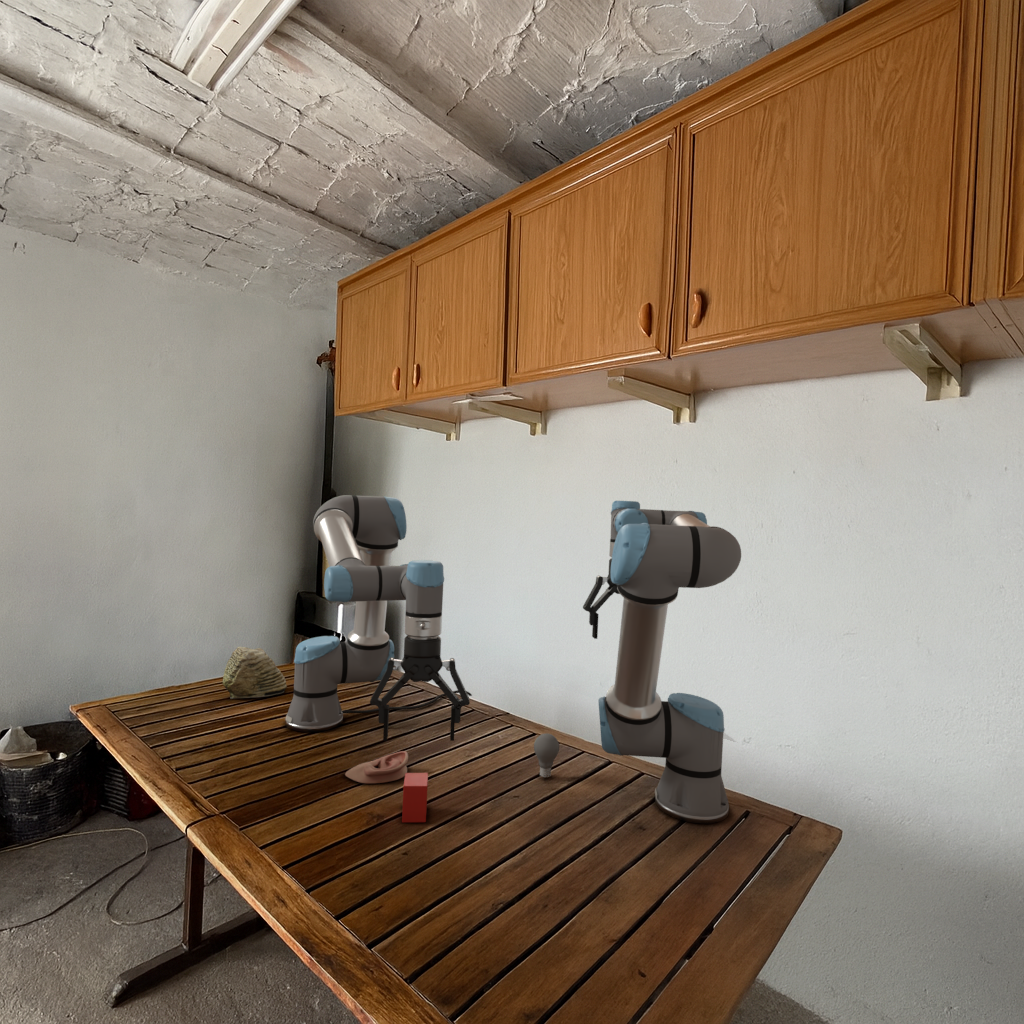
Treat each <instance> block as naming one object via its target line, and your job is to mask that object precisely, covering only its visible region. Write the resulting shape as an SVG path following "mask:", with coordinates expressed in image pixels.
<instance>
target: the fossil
mask: <svg viewBox="0 0 1024 1024" xmlns="http://www.w3.org/2000/svg"><path fill="white" fill-rule="evenodd" d="M222 676H223V677H222V685H223V687H224V688H225V690H226V691H228V693H229V698H230V699H250V698H264V697H271V696H275V695H281V694H284V693H285V691H286V689H287V687H288V686H287V680H286V678H285V676H284V674H283V673H282V672H281V669H279V668H278V667H277V665H276V663H275V662H274V660H273V659H272V658H271V657H270V656H269V655H268V654H267V653H266V652H265V650H264V649H263V648H260V647H258V648H251V647H247V646H246V647H245V646H238V647H237V648H236V649H235V650H233V651H232V653H231V656H230V657H229V659H228V660H227V663H226V666H225V668H224V671H223V675H222Z"/></svg>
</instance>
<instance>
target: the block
mask: <svg viewBox="0 0 1024 1024" xmlns="http://www.w3.org/2000/svg"><path fill="white" fill-rule="evenodd" d="M403 780H404V781H403V786H402V789H403V790H402V812H401V813H402V816H401V823H426V822H427V809H428V808H427V807H428V788H429V786H428V784H429V772H407V773H405V776H404V779H403Z"/></svg>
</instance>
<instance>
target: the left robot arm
mask: <svg viewBox="0 0 1024 1024" xmlns="http://www.w3.org/2000/svg"><path fill="white" fill-rule="evenodd" d="M312 527H313V532H314V534H315V537H316V538H317V540H318V541H320V542H321V544H322V547H323V551H324V554H325V557H326V561H327V564H328V567H327V568H326V569H325V572H324V578H323V579H324V581H323V589H324V596H325V599H326V600H327V601H329V602H335V603H336V602H337V603H339V602H340V603H349V602H350V603H351V602H355V609H354V622H353V629H352V630H350V631H349V632H348V633H347V640H346V641H341V640H340V638H339V637H338V636H335V635H321V636H315V637H311V638H308V639H305V640H303V641H301V642H299V643H298V644H297V645H296V648H295V654H294V660H293V663H294V674H293V675H294V679H293V695H292V696H293V697H292V699H291V702H290V704H289V708H288V711H287V713H286V715H285V726H286V728H287V729H289V730H291V731H294V732H295V731H296V732H301V733H316V732H325V731H329V730H332V729H335V728H337V727H339V726H340V725H342V723H343V722H344V714H370V713H377V712H378V717H377V718H378V720H377V721H378V723H379V724H383V735H382V741H383V742H387V741H388V737H389V723H390V721H389V719H390V711H392V710H393V711H395V710H397V711H398V710H399V711H400V710H402V711H404V710H405V711H406V710H407V711H408V710H416V709H420V708H424V707H426V706H429V705H431V704H433V703H435V702H437V701H438V700H440V698H443V697H446V698H447V699H448V701H450V702H451V706H450V729H449V740H450V742H453V741H454V742H455V726H456V725H455V724H460V723H461V711H462V707H465V706H469V705H470V702H471V700H470V697H472V696H473V694H472V693H471V692H469V691H467V690H466V688H465V686H464V684H463V682H462V679H461V677H460V675H459V673H458V671H457V668H456V659H455V658H453V657H450V658H449V659H443V660H442V658H441V655H442V653H441V652H442V638H441V636H440V635H441V634H442V628H443V600H444V599H443V598H444V583H445V575H444V565H443V563H442V562H441V561H438V560H432V559H416V560H410V561H409V562H408V563H405V564H400V565H391V563H392V553H393V551H395V550H397V548H398V547H399V541H402V540H404V539H405V538H406V535H407V530H408V529H407V527H408V525H407V516H406V510H405V507H404V504H403V502H402V501H401V499H399V498H397V497H392V496H385V495H352V494H343V495H339V496H335V497H332V498H331V499H328V500H327V501H326V502H324V503H323V504H322V505H321V506H319V508H318V509H317V511H316V512H315V514H314V517H313V521H312ZM388 601H405V615H404V635H406V636H405V637H404V638H403V639H404V640H403V657H402V659H397V658H396V659H395V645H394V644H395V643H394V642H393V640H392V639H390V635H389V634H388V632H386V631H385V628H386V618H387V608H388ZM399 667H401V669H402V670H403V671H404V673H403V674H402V675H401V677H400V678H399V679H398V680H397V681H396V682H395V683H394V684H393V685H392V687H391V688H390V689H389V690H387V692H386V693H385V694H384V695H383V697H381V698H380V696H381V695H382V693H383V691H384V689H385V688H386V685H387V684H388V682H389V680H390V678H391V677H392V674H393V671H397V669H398V668H399ZM443 667H444V668H445V670H446V671H447V672H449V673H450V677H451V678H452V680H453V683H454V685H455V688H456V690H453V689H452V688H451V687H450V686H449V684H447V682H446V681H445V680H444V679H443V676H441V674H440V673H439V672H440V671H441V669H442V668H443ZM409 681H411V682H414V683H417V682H418V683H419V682H424V683H429V682H431V681H433V682H434V683H435V684H436V685H437V686H438V688H439V689H440V690H441V692H442V694H439V695H437V696H436V697H435V698H434V699H431V700H430V701H427V702H424V703H422V704H418V705H411V706H390V704H388V703H389V702H390V701H391V700H392V699H393V698H394V697H395V696H396V695H397V693H399V691H401V689H402V688H403V687H404V686H405V685H407V683H408V682H409ZM374 682H378V685H377V687H376V688H375V690H374V692H373V693H372V696H371V697H370V700H369V704H370V705H371V706H376V707H377V708H373V709H362V710H361V709H359V710H357V709H356V710H355V709H354V710H353V709H350V710H349V709H348V710H347V709H346V710H343V709H342V706H341V702H340V699H339V695H338V685H345V684H356V683H359V684H360V683H374ZM456 694H459V697H460V698H459V697H458V696H457V695H456Z"/></svg>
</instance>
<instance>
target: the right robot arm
mask: <svg viewBox="0 0 1024 1024" xmlns="http://www.w3.org/2000/svg"><path fill="white" fill-rule="evenodd" d="M609 557H610V558H609V560H608V574H607V576H601V575H597V576H596V577H595V583H594V585H593V587H592V589H591V591H590V592H589V594H588V597H587V598H586V600H585V602H584V603H583V605H582V609H583V610H584V611H586V612H588V613H589V616H588V617H589V618H588V619H589V620H588V623H589V625H590V626H592V630H591V631H592V632H591V633H592V634H591V637H592V638H593V639H594V640H597V639H598V636H599V635H598V634H599V633H598V632H599V613H597V612H598V611H599V610H600V608H601V607H603V605H604V604H605V603H606V602H607V601H608V599H610V597H611V596H613V595H614V594H616V595H620V596H621V597H622V598H623V601H622V611H621V619H620V628H619V629H620V630H619V640H618V649H617V657H616V667H615V668H616V669H615V677H614V684H612V685H611V686H610V687H609V688H608V689H607V691H606V696H603V697H599V698H598V699H597V700H598V714H599V715H598V717H599V727H600V728H599V729H600V741H601V749H602V750H603V751H604V752H605V753H607V754H611V755H617V756H622V757H623V756H628V757H629V756H630V757H647V758H650V757H651V758H662V759H665V765H664V768H663V771H662V774H661V776H660V779H659V781H658V784H657V786H656V787H655V789H654V794H655V795H654V802H655V805H656V807H657V808H658V809H660V810H661V811H662V812H663V813H665V814H666V815H667V816H668V815H669V816H670V817H672V818H674V819H677V820H680V821H684V822H688V823H693V824H714V823H720V822H722V821H723V820H725V819H727V817H728V815H729V809H730V808H729V807H730V804H729V799H728V794H727V791H726V788H725V785H724V781H723V777H722V765H723V749H724V748H723V747H724V732H725V731H726V730H725V716H724V711H723V709H722V708H721V707H720V705H718V704H716V703H715V702H713V701H711V700H709V699H707V698H705V697H701V696H698V695H695V694H692V693H691V694H690V693H686V692H685V693H684V692H676V693H675V692H672V693H670V694H669V696H668V697H667V700H665V701H663V700H662V699H661V696H660V694H659V693H658V692H657V687H658V680H659V673H660V665H661V657H662V652H663V651H662V650H663V644H664V636H665V629H666V623H667V622H666V621H667V615H668V606H669V604H671V603H673V602H674V601H675V600H676V599H677V598H678V595H679V588H685V589H686V588H687V589H688V588H689V589H704V588H709V587H713V586H716V585H718V584H721V583H723V582H725V581H726V580H728V579H730V578H731V577H732V576H733V574H734V573H736V571H737V569H738V568H739V566H740V563H741V561H742V560H741V559H742V549H741V545H740V543H739V541H738V539H737V538H736V536H735V535H733V534H732V533H731V532H729V531H728V530H726V529H725V528H723V527H719V526H715V525H713V526H710V525H709V524H708V519H707V515H706V514H705V513H704V512H702V511H694V510H663V509H646V508H641V504H640V502H639V501H636V500H635V501H634V500H613V502H612V503H611V510H610V539H609ZM605 583H606V584H608V587H606V589H605V591H604V592H603V593H602V594H601V595H600V596H599V598H597V596H598V594H599V592H600V591H601V588H602V587H603V586H604V585H605ZM596 598H597V600H596ZM595 600H596V601H595Z"/></svg>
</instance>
